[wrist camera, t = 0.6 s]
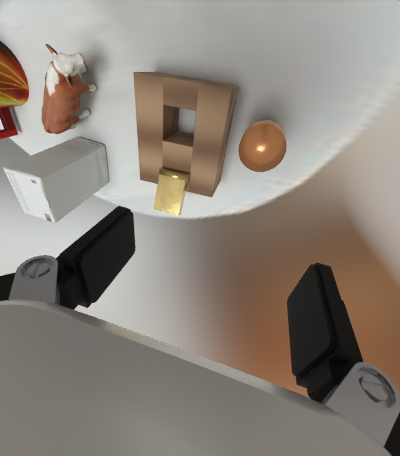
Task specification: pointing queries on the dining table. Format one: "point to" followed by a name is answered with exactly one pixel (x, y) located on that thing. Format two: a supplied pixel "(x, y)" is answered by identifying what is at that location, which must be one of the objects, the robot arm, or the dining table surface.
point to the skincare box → (59, 178)
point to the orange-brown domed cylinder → (262, 146)
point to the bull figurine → (64, 92)
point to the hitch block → (179, 141)
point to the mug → (10, 89)
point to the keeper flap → (170, 191)
